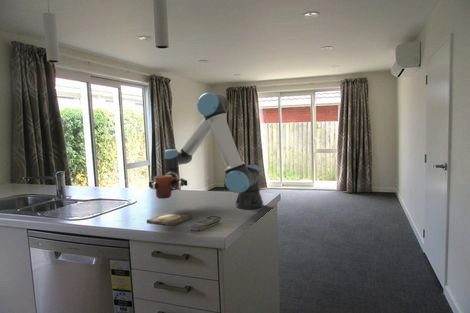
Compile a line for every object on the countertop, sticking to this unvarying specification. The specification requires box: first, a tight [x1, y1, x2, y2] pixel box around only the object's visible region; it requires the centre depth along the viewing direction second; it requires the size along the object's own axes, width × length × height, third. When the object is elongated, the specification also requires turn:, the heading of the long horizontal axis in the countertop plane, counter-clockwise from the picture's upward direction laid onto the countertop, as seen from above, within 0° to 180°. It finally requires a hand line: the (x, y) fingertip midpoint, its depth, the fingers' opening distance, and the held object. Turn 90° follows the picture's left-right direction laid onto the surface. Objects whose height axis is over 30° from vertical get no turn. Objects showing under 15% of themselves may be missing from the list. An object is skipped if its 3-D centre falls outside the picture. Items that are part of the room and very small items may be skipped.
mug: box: [153, 175, 180, 200], centre depth 159 cm, size 12×9×10 cm
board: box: [146, 212, 192, 227], centre depth 161 cm, size 16×14×2 cm
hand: (166, 186), depth 156 cm, fingers closed on mug, 11 cm apart
